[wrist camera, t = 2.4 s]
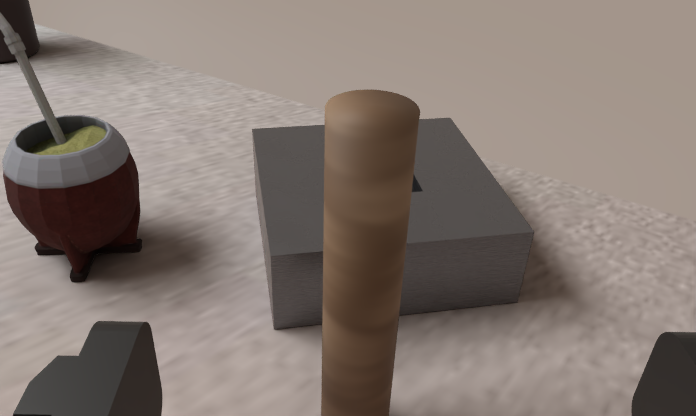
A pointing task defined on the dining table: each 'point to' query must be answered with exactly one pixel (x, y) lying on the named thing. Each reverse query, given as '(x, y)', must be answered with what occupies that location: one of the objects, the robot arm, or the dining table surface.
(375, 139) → the pin
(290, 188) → the grey square hole block
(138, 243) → the mate gourd
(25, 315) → the dining table surface
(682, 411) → the robot arm
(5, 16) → the bottle
